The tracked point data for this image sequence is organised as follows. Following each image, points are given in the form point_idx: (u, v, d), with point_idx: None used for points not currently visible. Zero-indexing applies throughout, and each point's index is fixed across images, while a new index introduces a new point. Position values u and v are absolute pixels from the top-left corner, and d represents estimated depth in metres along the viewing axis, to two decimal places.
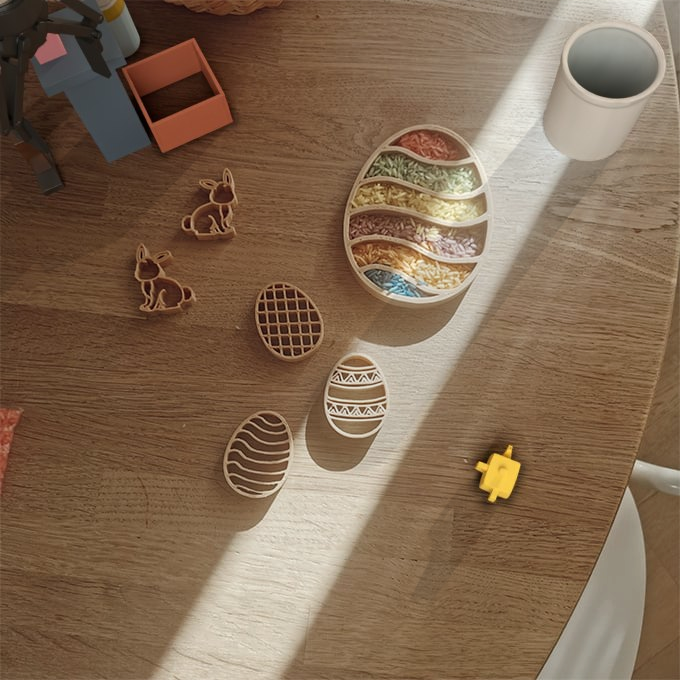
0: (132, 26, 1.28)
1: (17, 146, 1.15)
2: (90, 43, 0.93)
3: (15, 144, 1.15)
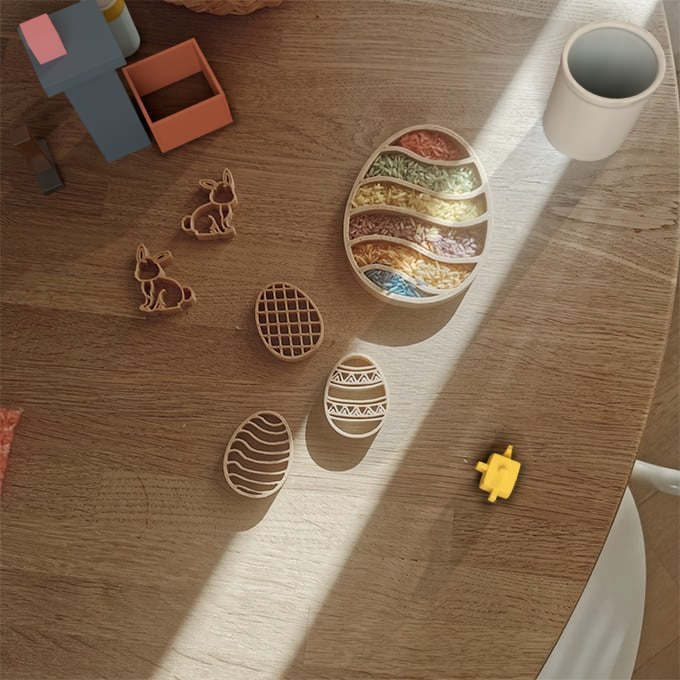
0: (132, 26, 1.28)
1: (17, 146, 1.15)
2: None
3: (15, 144, 1.15)
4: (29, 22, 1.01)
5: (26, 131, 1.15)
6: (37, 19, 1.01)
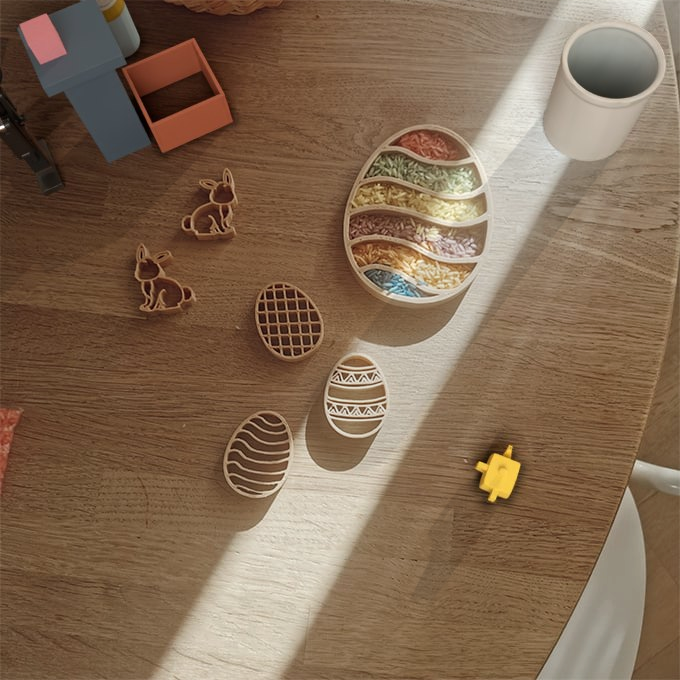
0: (132, 26, 1.28)
1: None
2: None
3: None
4: (29, 22, 1.01)
5: (26, 131, 1.15)
6: (37, 19, 1.01)
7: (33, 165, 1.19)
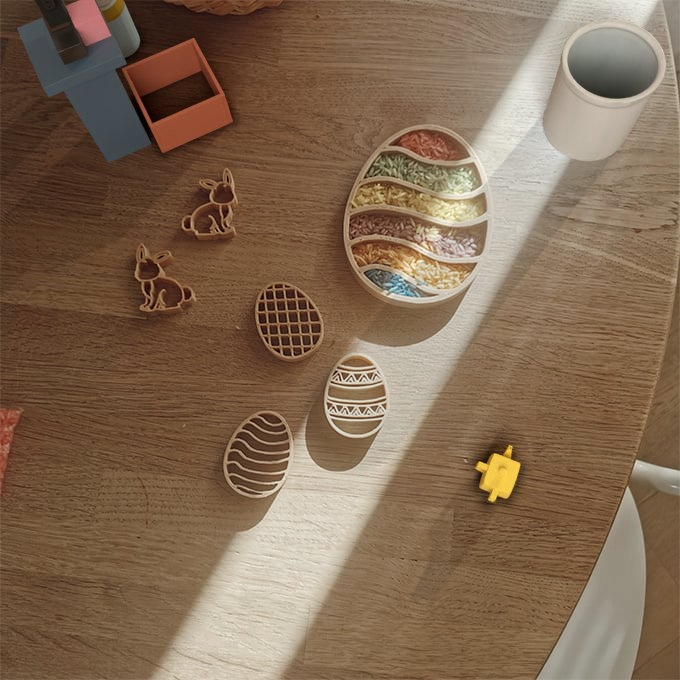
0: (132, 26, 1.28)
1: None
2: None
3: None
4: (75, 4, 1.01)
5: None
6: (83, 1, 1.01)
7: (49, 16, 0.97)
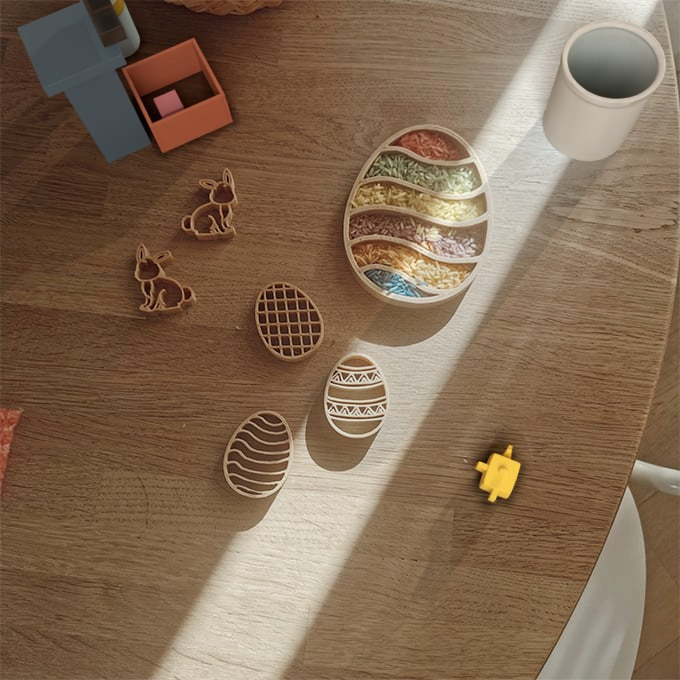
0: (132, 26, 1.28)
1: None
2: None
3: None
4: None
5: None
6: None
7: None
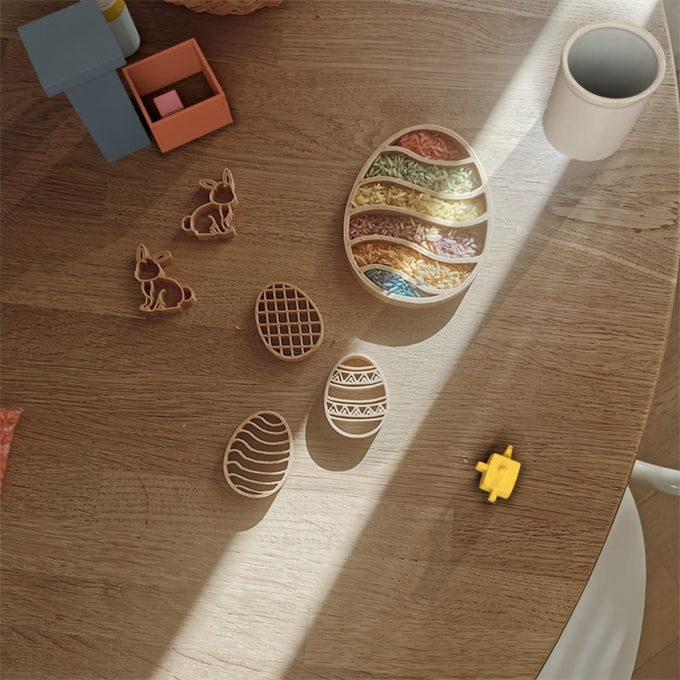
0: (132, 26, 1.28)
1: None
2: None
3: None
4: None
5: None
6: None
7: None
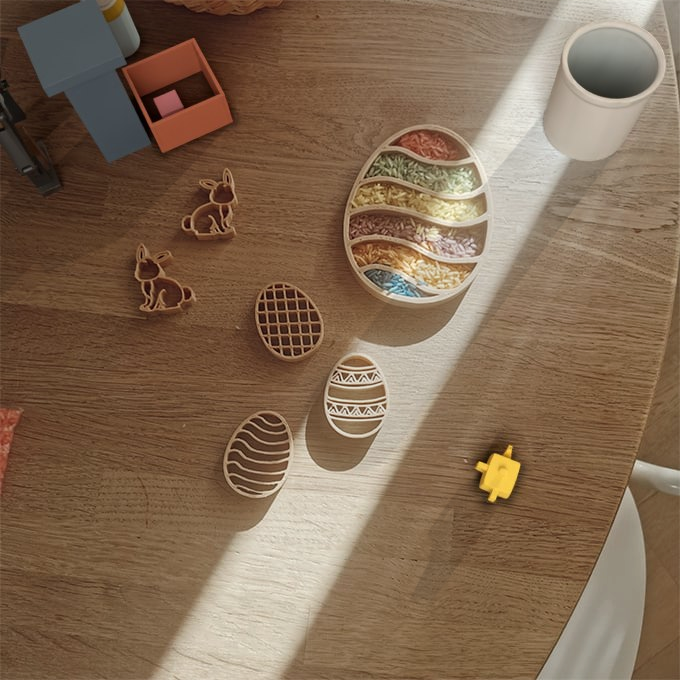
0: (132, 26, 1.28)
1: None
2: (7, 92, 1.15)
3: None
4: None
5: (24, 132, 1.15)
6: None
7: (35, 180, 1.15)
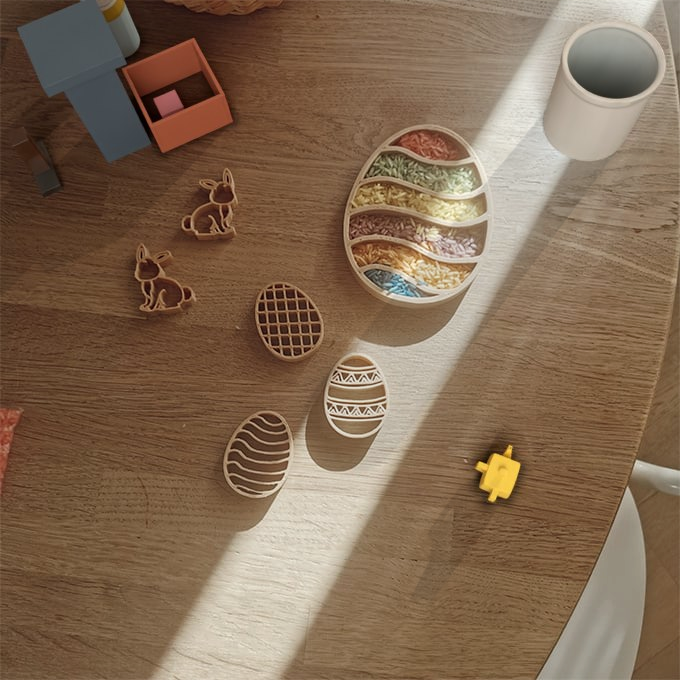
0: (132, 26, 1.28)
1: (15, 147, 1.15)
2: None
3: (13, 145, 1.15)
4: None
5: (24, 132, 1.15)
6: None
7: None
